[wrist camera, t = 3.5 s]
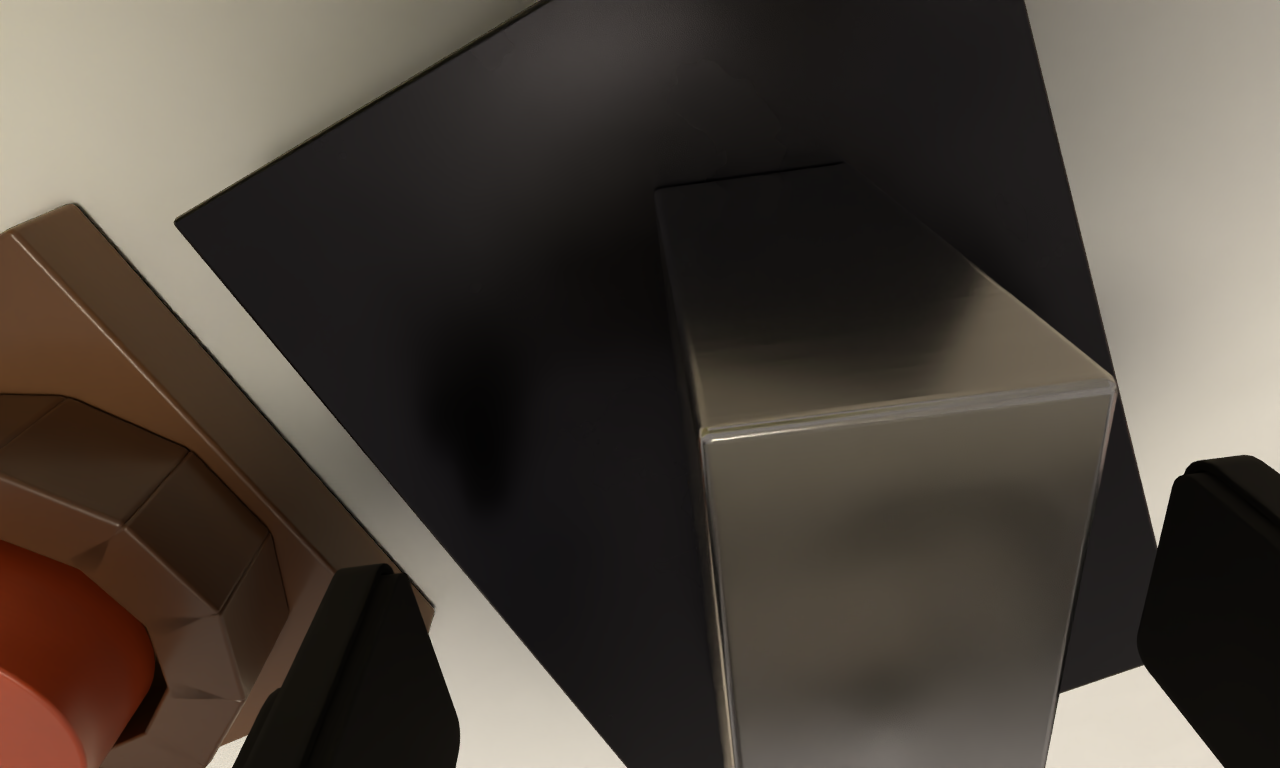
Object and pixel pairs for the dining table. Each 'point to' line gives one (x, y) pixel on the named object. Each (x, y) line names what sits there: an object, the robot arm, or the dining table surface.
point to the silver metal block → (874, 478)
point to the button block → (158, 488)
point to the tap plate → (637, 295)
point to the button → (64, 664)
